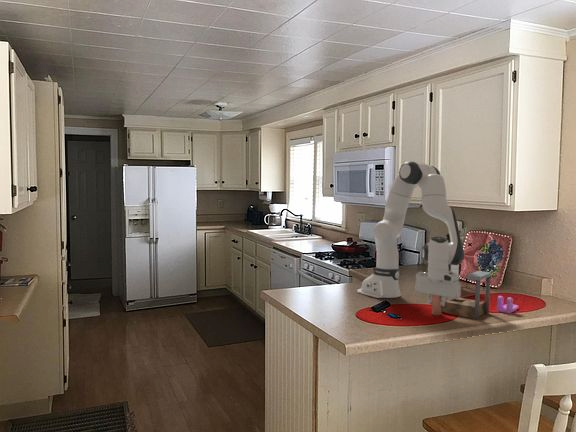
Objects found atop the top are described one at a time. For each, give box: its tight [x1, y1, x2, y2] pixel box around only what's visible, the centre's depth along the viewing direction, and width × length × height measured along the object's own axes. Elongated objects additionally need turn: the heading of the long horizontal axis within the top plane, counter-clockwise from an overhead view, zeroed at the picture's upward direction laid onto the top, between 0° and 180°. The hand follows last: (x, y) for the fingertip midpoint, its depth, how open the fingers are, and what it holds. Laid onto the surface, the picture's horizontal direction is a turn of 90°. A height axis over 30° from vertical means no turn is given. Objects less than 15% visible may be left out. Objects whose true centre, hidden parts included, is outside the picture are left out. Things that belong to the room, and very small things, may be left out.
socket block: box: [441, 297, 485, 319], centre depth 227 cm, size 16×12×5 cm
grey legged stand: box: [465, 270, 492, 320], centre depth 222 cm, size 6×14×18 cm, turn 139°
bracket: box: [496, 295, 519, 314], centre depth 233 cm, size 13×6×7 cm, turn 136°
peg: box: [431, 294, 443, 316], centre depth 223 cm, size 4×4×9 cm
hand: (436, 305), depth 223 cm, fingers closed on peg, 4 cm apart
